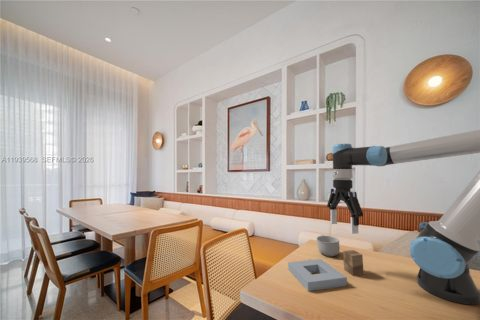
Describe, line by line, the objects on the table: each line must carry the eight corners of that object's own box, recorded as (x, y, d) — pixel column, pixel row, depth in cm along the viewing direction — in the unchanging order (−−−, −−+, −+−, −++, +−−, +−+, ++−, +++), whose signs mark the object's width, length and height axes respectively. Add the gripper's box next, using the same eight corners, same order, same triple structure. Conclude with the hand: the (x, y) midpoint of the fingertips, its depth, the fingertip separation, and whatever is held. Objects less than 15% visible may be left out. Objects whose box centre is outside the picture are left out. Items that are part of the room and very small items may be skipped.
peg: (363, 274, 79) (362, 254, 80) (353, 275, 78) (352, 255, 79) (354, 268, 84) (353, 249, 85) (344, 269, 83) (343, 251, 84)
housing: (347, 285, 71) (346, 277, 72) (308, 291, 68) (307, 282, 68) (321, 265, 87) (320, 258, 87) (288, 269, 84) (288, 262, 84)
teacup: (342, 259, 93) (342, 242, 94) (319, 257, 95) (318, 241, 96) (334, 248, 107) (334, 233, 107) (314, 247, 109) (313, 232, 110)
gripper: (319, 177, 96) (319, 220, 95) (355, 180, 71) (356, 238, 70) (333, 177, 97) (333, 220, 96) (373, 180, 72) (374, 237, 71)
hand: (343, 228), depth 83 cm, fingers open, 13 cm apart
